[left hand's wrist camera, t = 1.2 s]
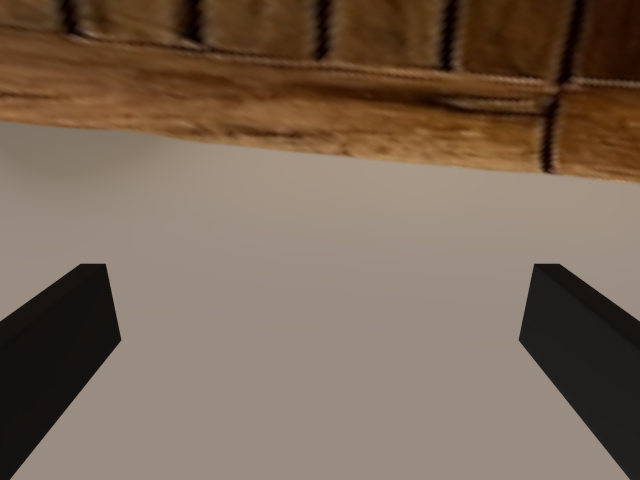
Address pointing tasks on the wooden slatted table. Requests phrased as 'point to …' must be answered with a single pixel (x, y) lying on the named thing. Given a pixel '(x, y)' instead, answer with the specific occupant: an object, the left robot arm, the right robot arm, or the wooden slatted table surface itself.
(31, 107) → the wooden slatted table surface
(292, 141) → the wooden slatted table surface
